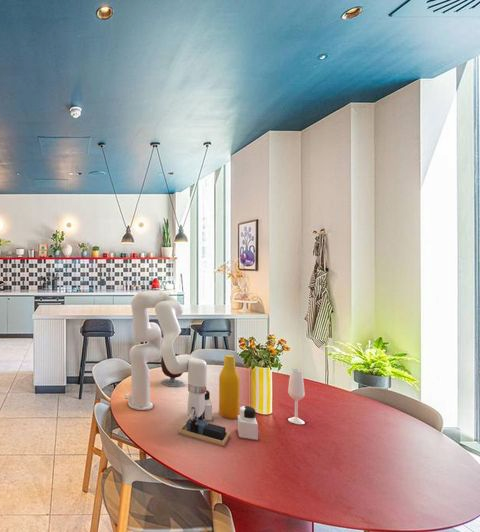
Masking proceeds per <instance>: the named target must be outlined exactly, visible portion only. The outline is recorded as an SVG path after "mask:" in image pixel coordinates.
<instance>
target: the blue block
mask: <svg viewBox="0 0 480 532" xmlns="http://www.w3.org/2000/svg"><path fill="white" fill-rule="evenodd" d="M194 419H195V421H196V418H194ZM186 421H187V429H186V431H189V432H190V418H189V419H188V420H186ZM197 424H198V434H200V435H204V434H205V427H206V426H207V425H208V420H200V419H198V423H197Z"/></svg>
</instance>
